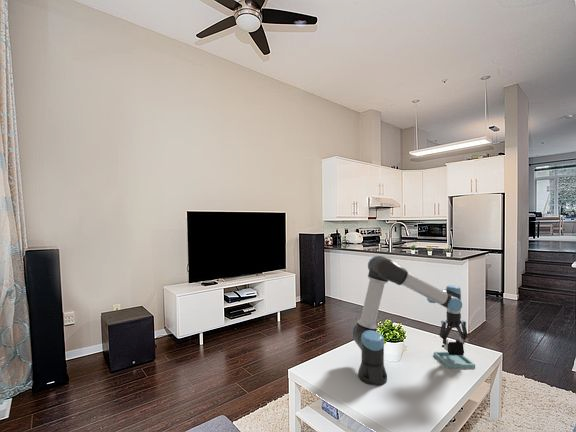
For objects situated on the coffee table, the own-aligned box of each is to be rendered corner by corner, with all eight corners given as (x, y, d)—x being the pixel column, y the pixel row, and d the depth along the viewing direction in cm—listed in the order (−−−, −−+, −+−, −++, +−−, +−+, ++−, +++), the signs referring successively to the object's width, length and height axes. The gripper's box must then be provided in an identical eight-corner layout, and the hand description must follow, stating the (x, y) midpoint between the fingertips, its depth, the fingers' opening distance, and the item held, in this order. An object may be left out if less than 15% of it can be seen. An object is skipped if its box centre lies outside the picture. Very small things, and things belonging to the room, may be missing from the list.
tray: (447, 368, 172) (447, 364, 172) (433, 355, 188) (433, 352, 188) (475, 368, 172) (475, 364, 172) (458, 354, 188) (458, 351, 188)
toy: (453, 339, 190) (464, 340, 176) (455, 353, 187) (466, 355, 173) (438, 338, 191) (447, 339, 177) (439, 352, 188) (450, 354, 174)
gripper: (439, 314, 176) (439, 352, 176) (475, 313, 176) (475, 352, 176) (432, 310, 183) (432, 346, 183) (467, 309, 184) (467, 346, 184)
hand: (453, 349), depth 180 cm, fingers closed on toy, 9 cm apart
